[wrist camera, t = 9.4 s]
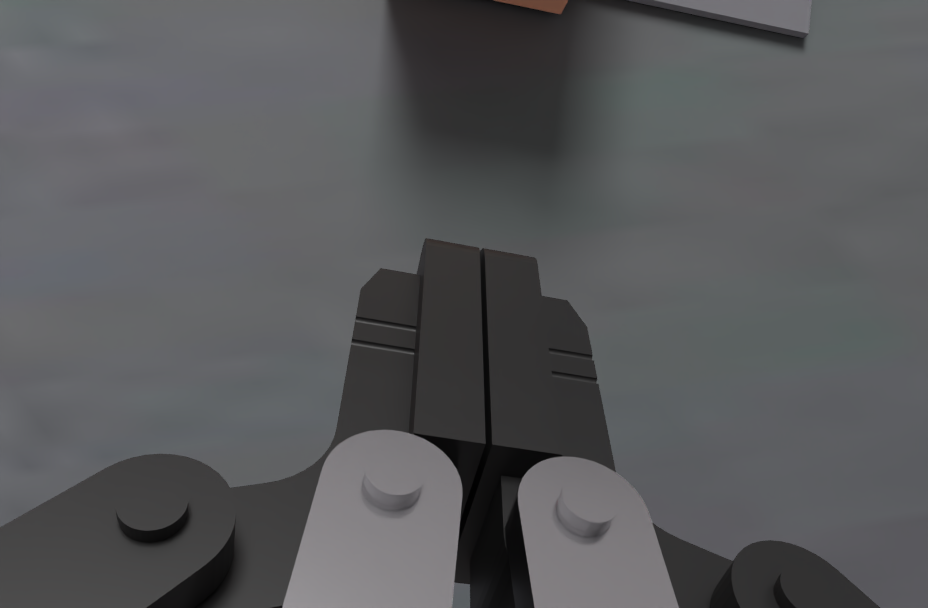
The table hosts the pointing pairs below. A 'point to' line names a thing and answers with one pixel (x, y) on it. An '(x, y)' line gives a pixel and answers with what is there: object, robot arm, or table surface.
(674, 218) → the table surface
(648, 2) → the mat
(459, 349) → the robot arm
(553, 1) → the tall block
